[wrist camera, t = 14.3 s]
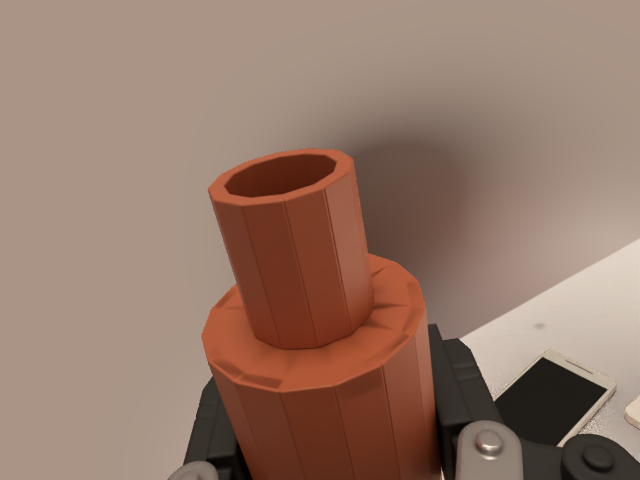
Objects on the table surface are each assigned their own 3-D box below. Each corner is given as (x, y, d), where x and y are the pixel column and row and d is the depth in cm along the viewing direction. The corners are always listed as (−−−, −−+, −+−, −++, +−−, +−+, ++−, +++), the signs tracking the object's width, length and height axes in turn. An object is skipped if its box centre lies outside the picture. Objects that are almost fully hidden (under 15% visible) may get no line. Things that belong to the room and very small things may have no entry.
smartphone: (454, 440, 44) (454, 433, 44) (547, 353, 51) (548, 347, 51) (524, 493, 39) (524, 486, 38) (618, 388, 46) (619, 381, 46)
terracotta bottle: (345, 734, 13) (162, 270, 6) (292, 570, 17) (146, 175, 10) (485, 645, 14) (467, 168, 7) (405, 511, 18) (344, 119, 11)
